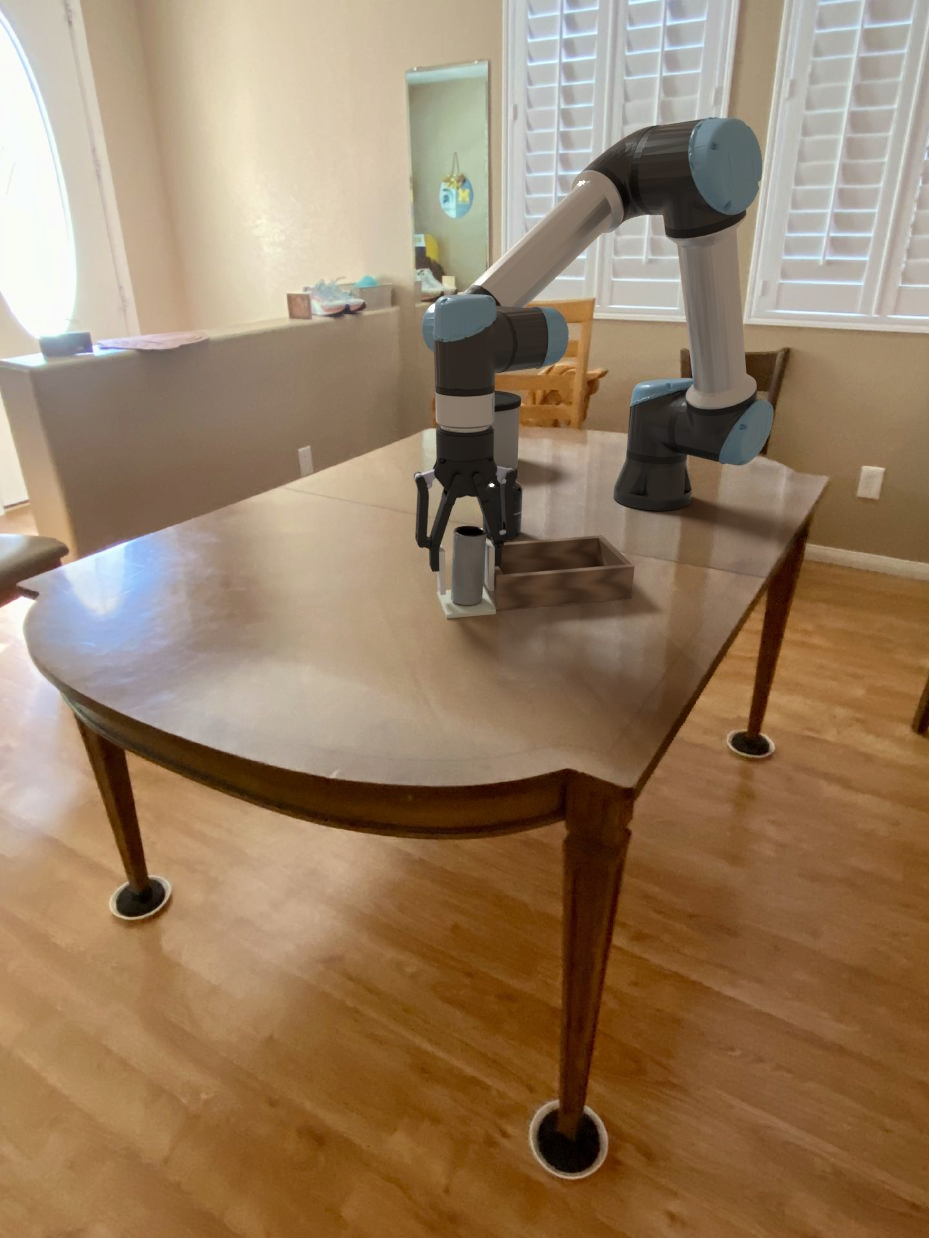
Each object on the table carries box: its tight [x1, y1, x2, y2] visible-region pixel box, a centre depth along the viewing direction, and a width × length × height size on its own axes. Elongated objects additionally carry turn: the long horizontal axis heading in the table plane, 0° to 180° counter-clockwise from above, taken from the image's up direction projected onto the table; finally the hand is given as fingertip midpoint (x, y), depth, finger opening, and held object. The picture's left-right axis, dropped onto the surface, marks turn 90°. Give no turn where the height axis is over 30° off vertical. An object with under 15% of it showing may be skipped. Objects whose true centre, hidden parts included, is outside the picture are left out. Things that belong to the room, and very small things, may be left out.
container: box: [438, 390, 522, 467], centre depth 174 cm, size 19×19×15 cm
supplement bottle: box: [482, 464, 524, 539], centre depth 133 cm, size 7×7×12 cm
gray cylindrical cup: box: [450, 525, 487, 605], centre depth 107 cm, size 4×4×10 cm
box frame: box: [483, 534, 635, 611], centre depth 114 cm, size 20×13×5 cm, turn 101°
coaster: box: [436, 586, 497, 619], centre depth 109 cm, size 7×8×1 cm
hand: (465, 588), depth 108 cm, fingers open, 6 cm apart
